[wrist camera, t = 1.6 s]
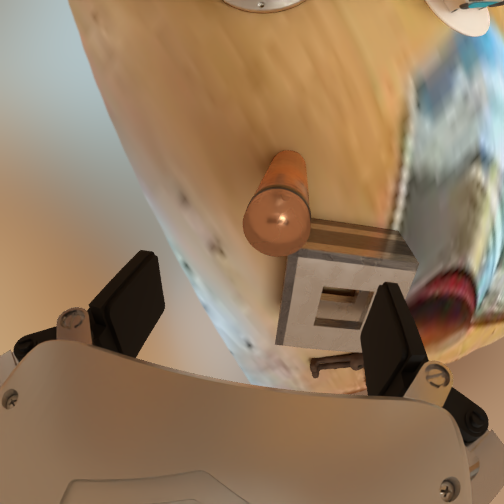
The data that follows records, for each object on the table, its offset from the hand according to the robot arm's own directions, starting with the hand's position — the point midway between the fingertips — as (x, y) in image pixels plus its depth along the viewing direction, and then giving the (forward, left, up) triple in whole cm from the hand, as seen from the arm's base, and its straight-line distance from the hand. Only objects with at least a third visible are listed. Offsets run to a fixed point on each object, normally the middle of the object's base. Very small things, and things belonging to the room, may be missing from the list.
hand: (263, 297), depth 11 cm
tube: (0, 0, -23) cm, 23 cm away
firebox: (+13, +8, -23) cm, 28 cm away
